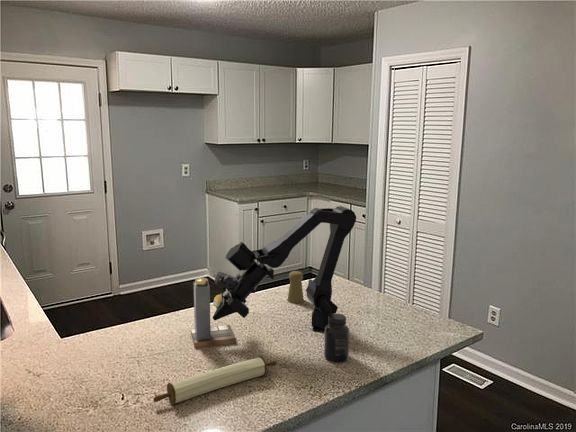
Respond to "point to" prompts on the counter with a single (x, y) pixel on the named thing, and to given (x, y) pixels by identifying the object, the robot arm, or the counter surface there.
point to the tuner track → (215, 336)
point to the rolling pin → (215, 380)
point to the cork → (295, 287)
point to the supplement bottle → (336, 339)
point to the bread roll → (217, 300)
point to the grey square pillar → (202, 309)
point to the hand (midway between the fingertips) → (213, 319)
